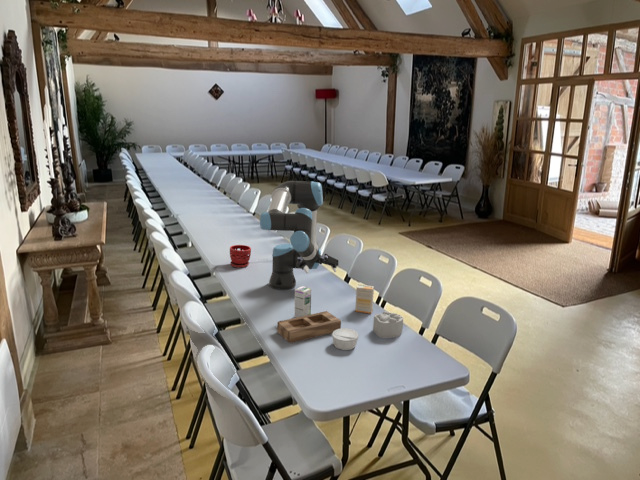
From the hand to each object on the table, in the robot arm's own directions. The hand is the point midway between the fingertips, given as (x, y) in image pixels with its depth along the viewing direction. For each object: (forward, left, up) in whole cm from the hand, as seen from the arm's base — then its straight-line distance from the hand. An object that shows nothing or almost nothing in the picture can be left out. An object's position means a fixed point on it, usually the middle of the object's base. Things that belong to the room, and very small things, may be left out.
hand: (321, 270), depth 225 cm
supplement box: (+6, +22, -23) cm, 33 cm away
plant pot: (-86, -6, -23) cm, 89 cm away
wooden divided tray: (+13, -14, -23) cm, 30 cm away
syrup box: (-2, -9, -23) cm, 25 cm away
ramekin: (+31, -7, -23) cm, 40 cm away
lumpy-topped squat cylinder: (+30, +18, -23) cm, 42 cm away
